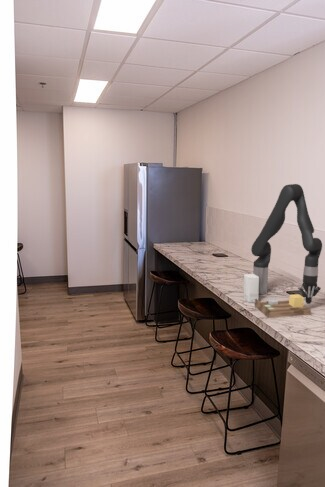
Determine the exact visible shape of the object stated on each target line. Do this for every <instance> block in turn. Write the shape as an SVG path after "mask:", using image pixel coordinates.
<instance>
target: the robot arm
mask: <svg viewBox="0 0 325 487" xmlns="http://www.w3.org/2000/svg"><path fill="white" fill-rule="evenodd" d="M292 202H294V204H295V206H296V222H297V226H298V227H299V231H300V233H301V242H302V246H303V248H304V250H306V251H307V252H308V253H307V255H306V256H305V257H304V267H303V275H302V284H301V286H299V287H298V291H299V292H300V294H301V296H302V297H305V303H306V304H307V305H310V304H311V303H312V299H313V297H315V296H317V294H318V293H319V292H320V291H321V287H320V286H318V278H319V277H318V276H319V259H320V256H321V253H322V251H323V250H322V249H323V243H322V241H321V239H320V238H319V237H314V236H313V234H314V232H315V227H314V225H313V223H312V220H311V218H310V215H309V211H308V207H307V202H306V198H305V194H304V189H303V187H302V186H301V185H300V184H298V183H293V184H292V183H291V184H286V185H284V186H283V187H282V189H281V190H280V192H279V195H278V198H277V200H276V203H275V205H274V206H273V209H272V210H271V213H270V215H269V216H268V217H267V219H266V222H265V224H264V226H263V228H262V229H261V231H260V232H259V234H258V236H257V238H255V240H254V242H253V243H252V245H251V248H250V249H251V253H252V256H254V257H257V259H255V260H254V261H253V269H252V274H255V275H256V276H258V277H259V294H258V295H265V294H267V293H268V284H269V283H268V281H269V264H270V262H271V256H272V246H271V244H270V242H269V240H271V239H272V238H273V237H274V236H275V235H277V234H278V233H279V231H280V230H281V228H282V227H283V225H284V223H285V221H286V210H287V208H288V206H289V205H290V203H292Z"/></svg>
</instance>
